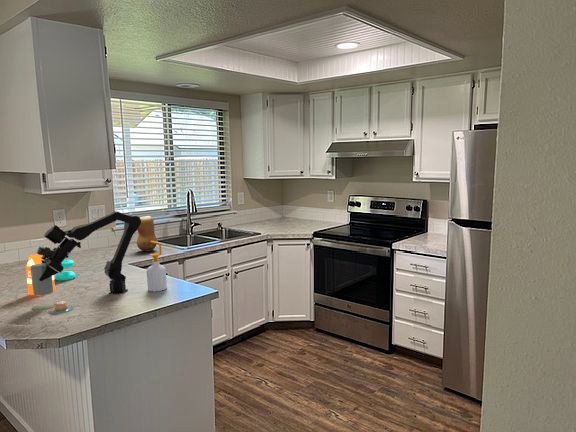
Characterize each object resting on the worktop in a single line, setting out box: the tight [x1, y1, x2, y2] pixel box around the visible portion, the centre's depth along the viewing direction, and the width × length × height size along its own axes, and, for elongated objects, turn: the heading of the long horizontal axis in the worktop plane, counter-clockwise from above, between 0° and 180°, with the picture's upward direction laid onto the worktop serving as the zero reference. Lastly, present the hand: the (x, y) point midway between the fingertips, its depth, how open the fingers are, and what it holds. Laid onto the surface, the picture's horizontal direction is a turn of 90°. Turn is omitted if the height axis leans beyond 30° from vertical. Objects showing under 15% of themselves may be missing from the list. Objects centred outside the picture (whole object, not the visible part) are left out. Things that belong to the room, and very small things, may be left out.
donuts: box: [54, 259, 76, 282], centre depth 238 cm, size 10×10×10 cm
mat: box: [31, 302, 55, 312], centre depth 192 cm, size 10×10×1 cm
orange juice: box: [25, 253, 56, 297], centre depth 212 cm, size 8×9×20 cm
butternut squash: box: [136, 215, 158, 252], centre depth 303 cm, size 14×13×25 cm
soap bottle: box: [146, 240, 168, 293], centre depth 214 cm, size 9×9×25 cm
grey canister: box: [30, 263, 54, 296], centre depth 191 cm, size 8×8×12 cm
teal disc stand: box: [47, 300, 75, 315], centre depth 187 cm, size 10×10×4 cm
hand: (38, 278), depth 190 cm, fingers closed on grey canister, 8 cm apart
